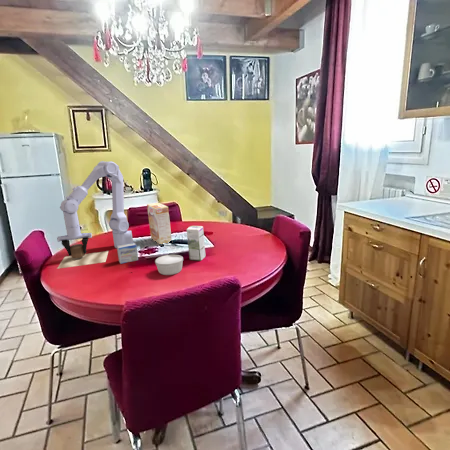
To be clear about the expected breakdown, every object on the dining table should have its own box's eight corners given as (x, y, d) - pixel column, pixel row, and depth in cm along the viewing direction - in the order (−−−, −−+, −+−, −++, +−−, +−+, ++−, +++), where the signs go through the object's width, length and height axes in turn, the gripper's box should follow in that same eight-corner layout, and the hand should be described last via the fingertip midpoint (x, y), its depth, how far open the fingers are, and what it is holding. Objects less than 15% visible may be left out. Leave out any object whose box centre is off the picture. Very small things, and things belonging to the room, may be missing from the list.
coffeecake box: (150, 238, 185) (146, 204, 180) (163, 236, 188) (159, 202, 183) (159, 245, 172) (155, 208, 167) (172, 242, 175) (168, 206, 170)
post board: (109, 253, 164) (107, 244, 163) (106, 265, 149) (104, 254, 148) (65, 259, 160) (63, 249, 158) (57, 271, 145) (55, 261, 143)
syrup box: (206, 256, 152) (203, 225, 148) (200, 261, 147) (198, 229, 143) (194, 255, 154) (191, 225, 150) (189, 260, 148) (186, 228, 145)
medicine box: (121, 267, 146) (118, 248, 144) (119, 264, 150) (116, 245, 147) (139, 263, 149) (136, 244, 147) (136, 260, 153) (134, 242, 151)
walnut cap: (87, 254, 158) (85, 244, 156) (79, 258, 153) (77, 247, 151) (77, 253, 159) (75, 243, 158) (69, 257, 154) (67, 247, 153)
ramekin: (187, 266, 142) (186, 254, 141) (178, 277, 131) (177, 264, 130) (163, 265, 145) (161, 254, 143) (152, 276, 134) (150, 263, 133)
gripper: (90, 222, 158) (95, 249, 161) (57, 225, 154) (62, 253, 158) (88, 225, 151) (93, 254, 154) (53, 229, 148) (59, 258, 151)
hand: (77, 254), depth 156 cm, fingers closed on walnut cap, 6 cm apart
